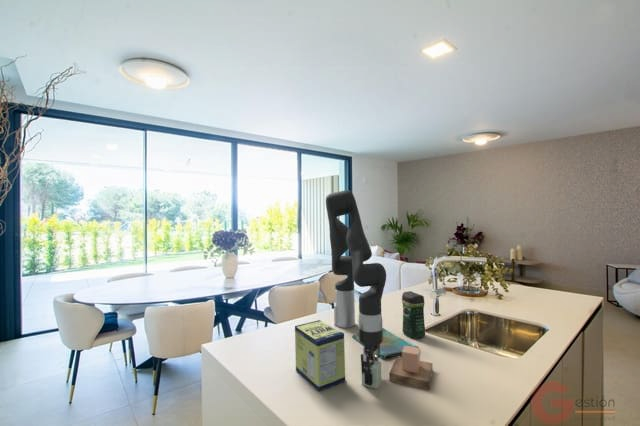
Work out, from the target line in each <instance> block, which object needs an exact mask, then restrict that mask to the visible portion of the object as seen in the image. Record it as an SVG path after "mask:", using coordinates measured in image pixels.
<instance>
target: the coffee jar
mask: <svg viewBox="0 0 640 426" xmlns="http://www.w3.org/2000/svg"><path fill="white" fill-rule="evenodd" d="M401 295H402V296H401V304H402V334H404V335H405V336H407V337H409V338H411V339H422V338H425V336H426V327H425V326H426V325H425V324H426V323H425V314H424V313H425V312H424V308H425V303H426V302H425V297H424V295H422V294H420V293H416V292H414V291H409V290H408V291H404V292H403V293H402V294H401Z"/></svg>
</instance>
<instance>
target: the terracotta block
mask: <svg viewBox="0 0 640 426" xmlns="http://www.w3.org/2000/svg"><path fill="white" fill-rule="evenodd" d="M401 357H402V370H404V371H409V372H414V373H419V369H420V361H421V347H418V348H417V347H411V346H404V348H403V350H402V356H401Z"/></svg>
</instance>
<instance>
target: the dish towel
mask: <svg viewBox="0 0 640 426" xmlns="http://www.w3.org/2000/svg"><path fill="white" fill-rule="evenodd" d="M382 328H383V341H382V343H381V344H380V359H381V360H383V361H388V360H391V359H396V357H402V350H403V348H404V346H411V347H417V348H419V346H417V345H413V344H412V343H410V342H409V341H406V340H405V339H403V338H402V337H400V336H397V335H396V334H394V333H392V332H391V331H389V330H387V329H386V328H384V327H382ZM351 338H352V339H353V340H355V341H356V342H357V343H359V344H360V345H362V346H363V348H365V345H364V344H363V343H361V342H360V341H359V333H355V334H352V336H351Z"/></svg>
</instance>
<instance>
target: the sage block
mask: <svg viewBox="0 0 640 426" xmlns="http://www.w3.org/2000/svg"><path fill="white" fill-rule="evenodd" d="M370 362H372V361H371V360H370ZM366 368H367V367H366ZM367 369H368V368H367ZM361 370H362V368H361ZM381 381H382V361H380V360H379V361H375V364H374V365H373V368H372V385H371V386H370V385H366V384H365V374H364V373H362V372H361V386H366V387H370V388H372V389H373V388H375V389H378V388H379V386H380V384H381Z"/></svg>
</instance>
